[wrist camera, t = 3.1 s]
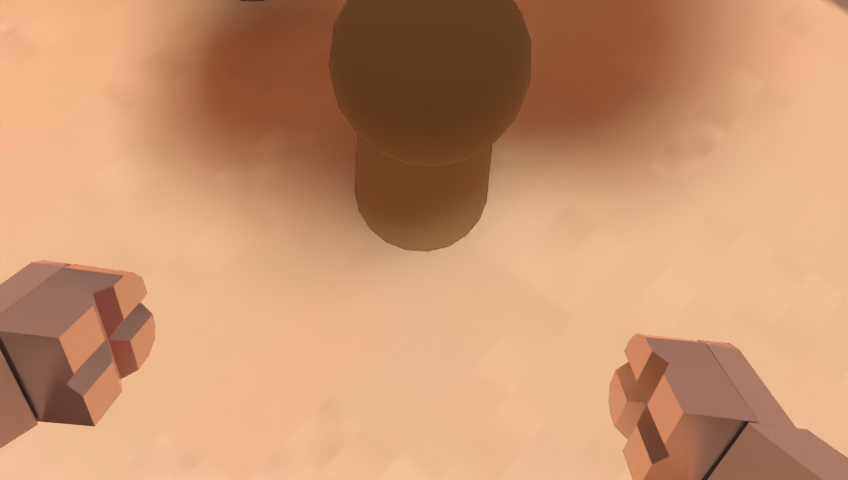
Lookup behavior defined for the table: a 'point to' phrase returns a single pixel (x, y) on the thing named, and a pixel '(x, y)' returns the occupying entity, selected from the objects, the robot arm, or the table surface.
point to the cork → (427, 108)
